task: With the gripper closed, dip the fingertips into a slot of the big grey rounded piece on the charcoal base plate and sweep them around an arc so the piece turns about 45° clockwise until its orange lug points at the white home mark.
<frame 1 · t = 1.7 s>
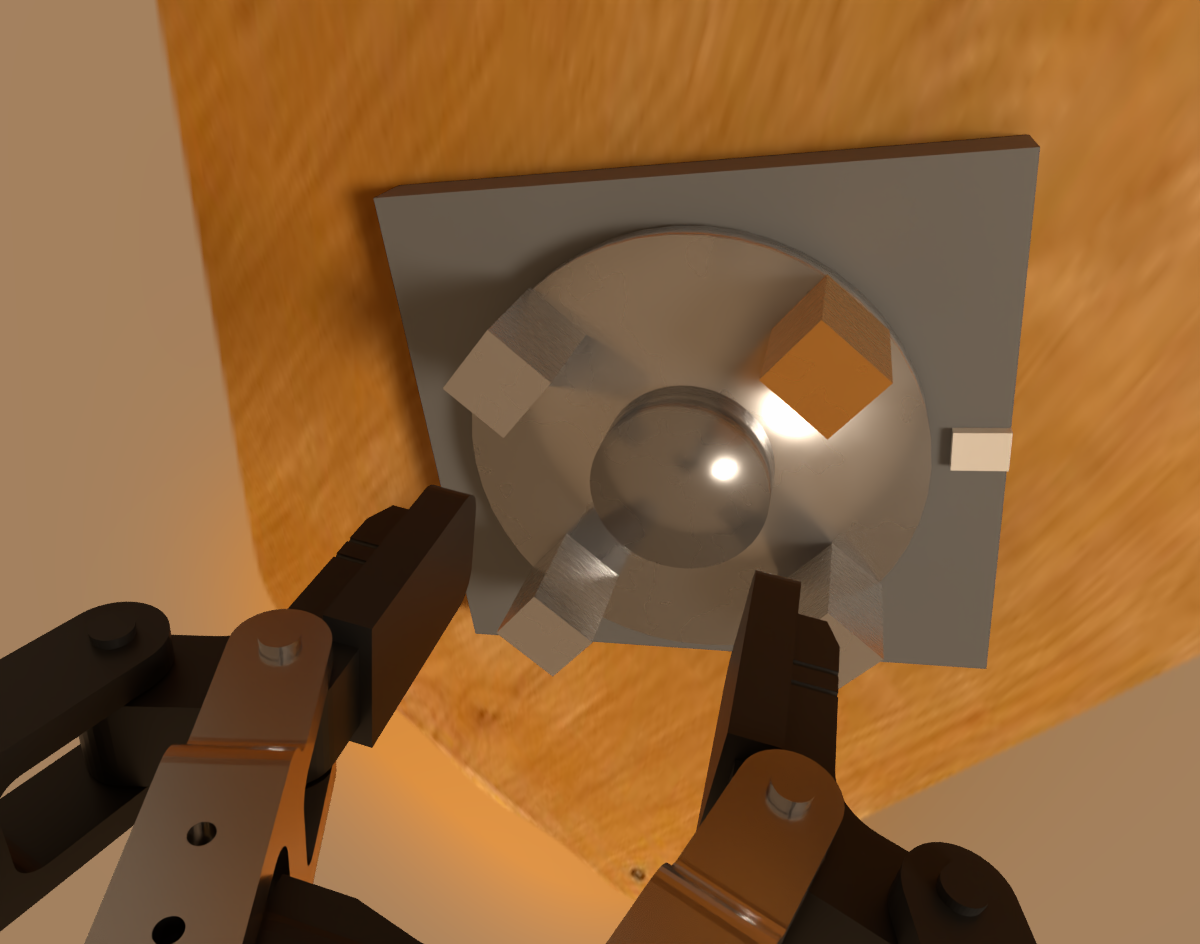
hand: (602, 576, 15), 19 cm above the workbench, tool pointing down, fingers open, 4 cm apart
base plate: (702, 420, 34), on the workbench
grey rounded piece: (680, 484, 30), point 5 cm above the workbench, hinge at 0.0°
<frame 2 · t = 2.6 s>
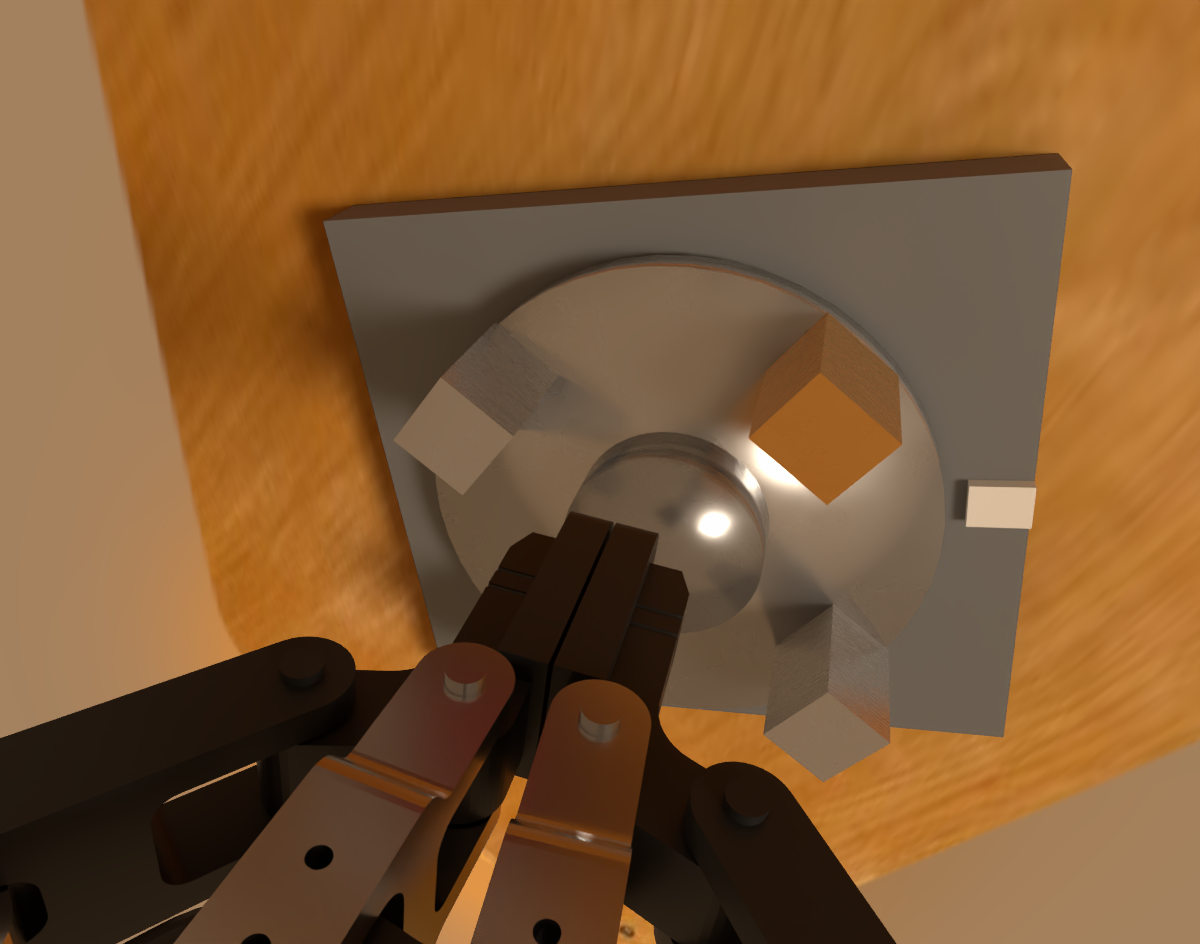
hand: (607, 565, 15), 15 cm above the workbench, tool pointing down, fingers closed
base plate: (691, 463, 31), on the workbench
grey rounded piece: (663, 542, 27), point 5 cm above the workbench, hinge at 0.0°
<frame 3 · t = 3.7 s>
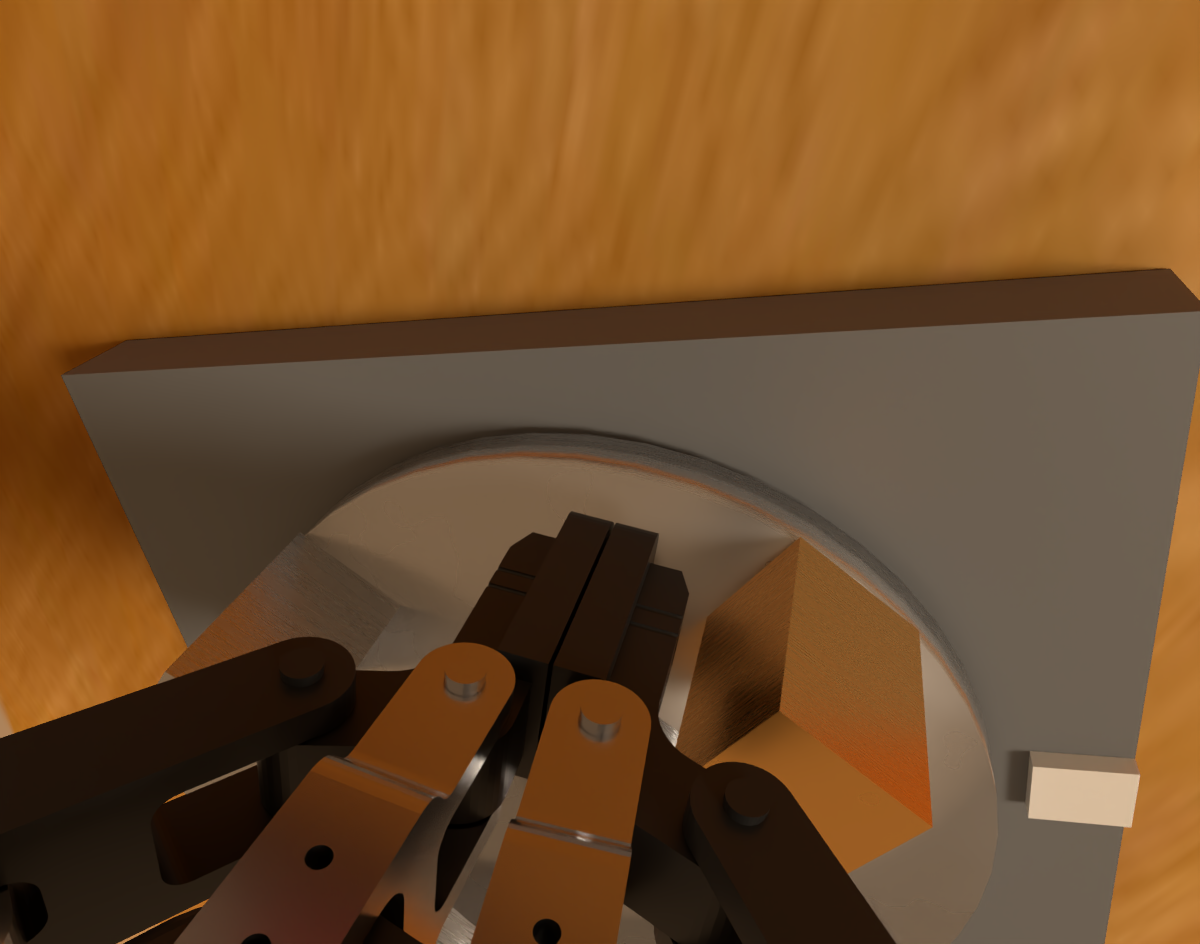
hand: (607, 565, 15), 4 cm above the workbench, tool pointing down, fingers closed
base plate: (625, 682, 22), on the workbench
grey rounded piece: (569, 851, 18), point 5 cm above the workbench, hinge at 0.0°, touching gripper
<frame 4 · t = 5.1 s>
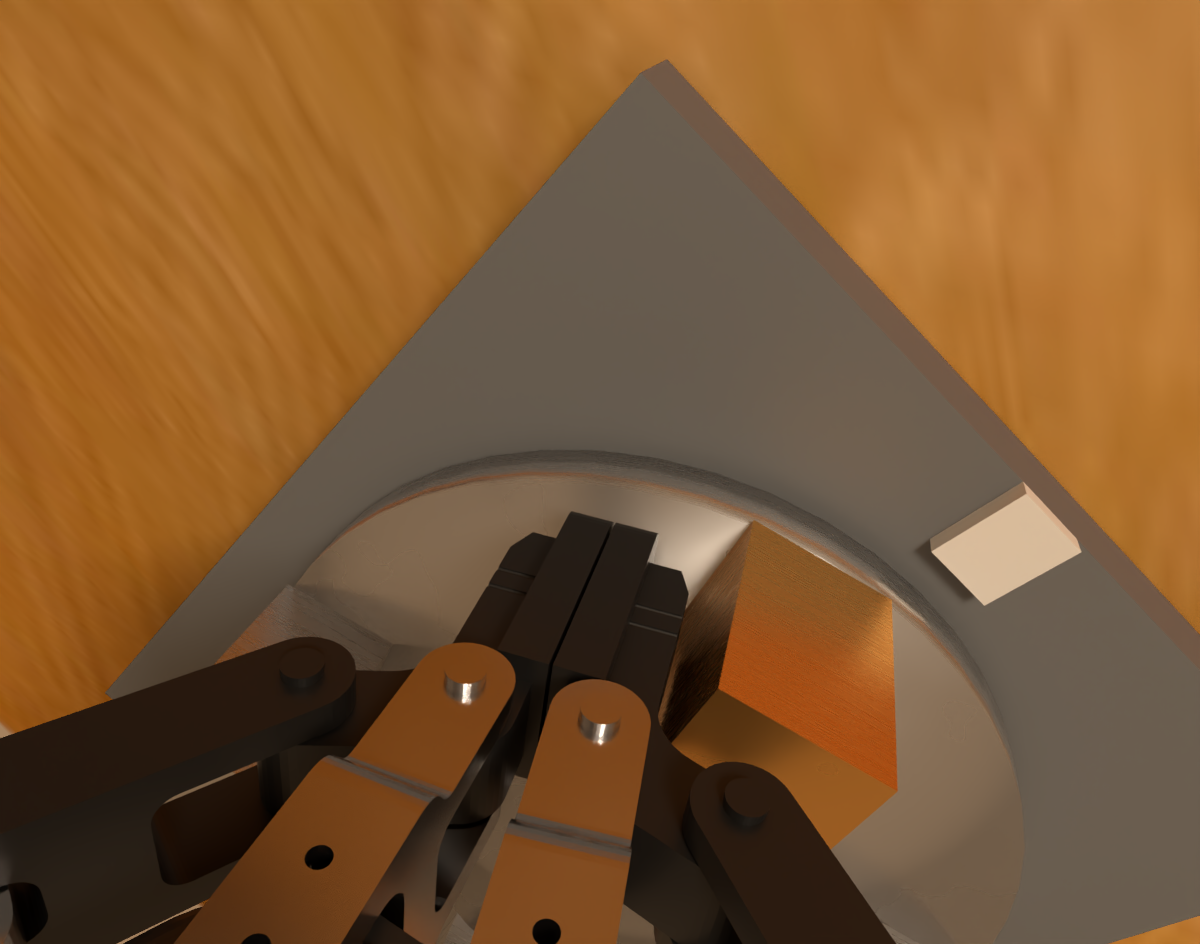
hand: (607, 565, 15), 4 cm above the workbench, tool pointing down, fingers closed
base plate: (642, 699, 22), on the workbench
grey rounded piece: (589, 871, 18), point 5 cm above the workbench, hinge at -29.2°, touching gripper
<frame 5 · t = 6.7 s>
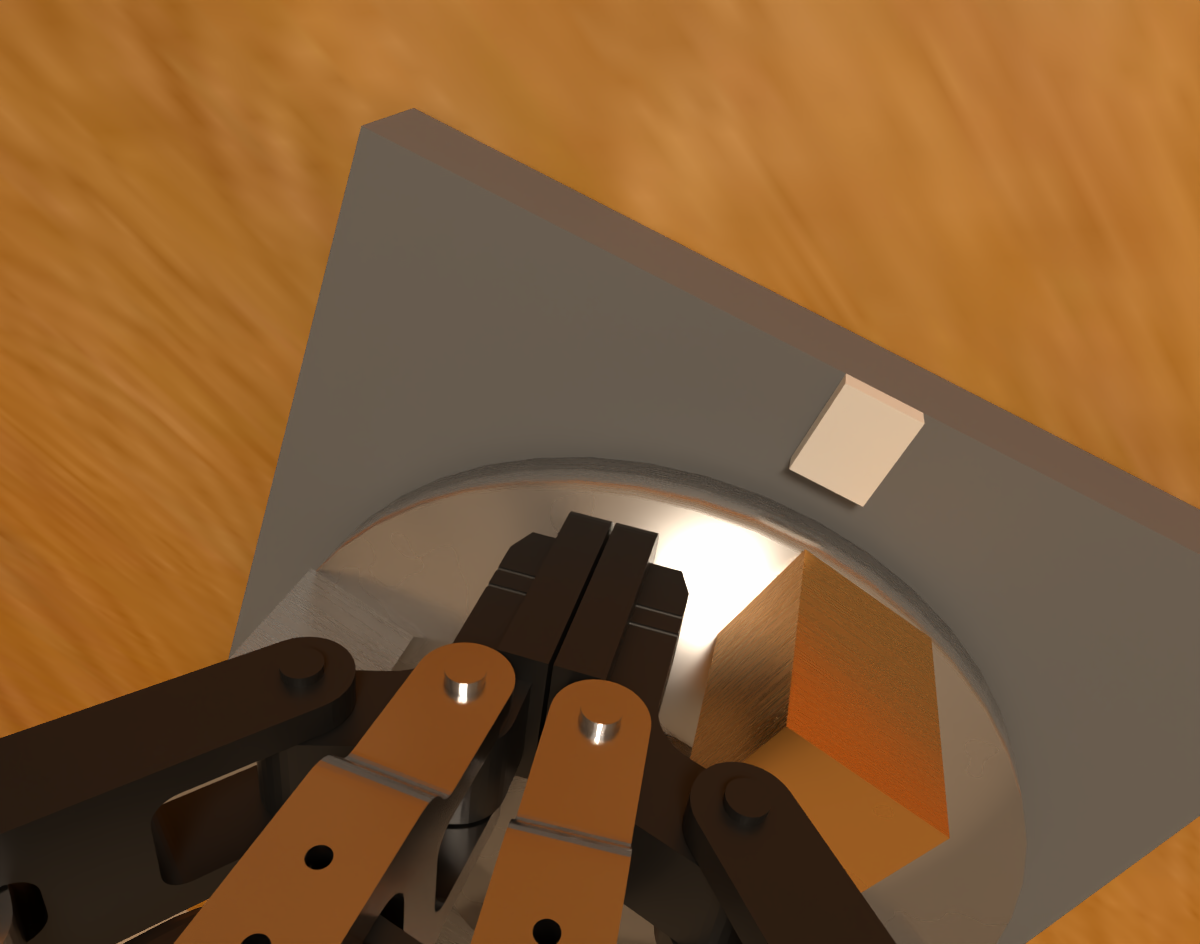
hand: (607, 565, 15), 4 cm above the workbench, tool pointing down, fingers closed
base plate: (644, 703, 22), on the workbench
grey rounded piece: (593, 876, 18), point 5 cm above the workbench, hinge at -54.3°, touching gripper
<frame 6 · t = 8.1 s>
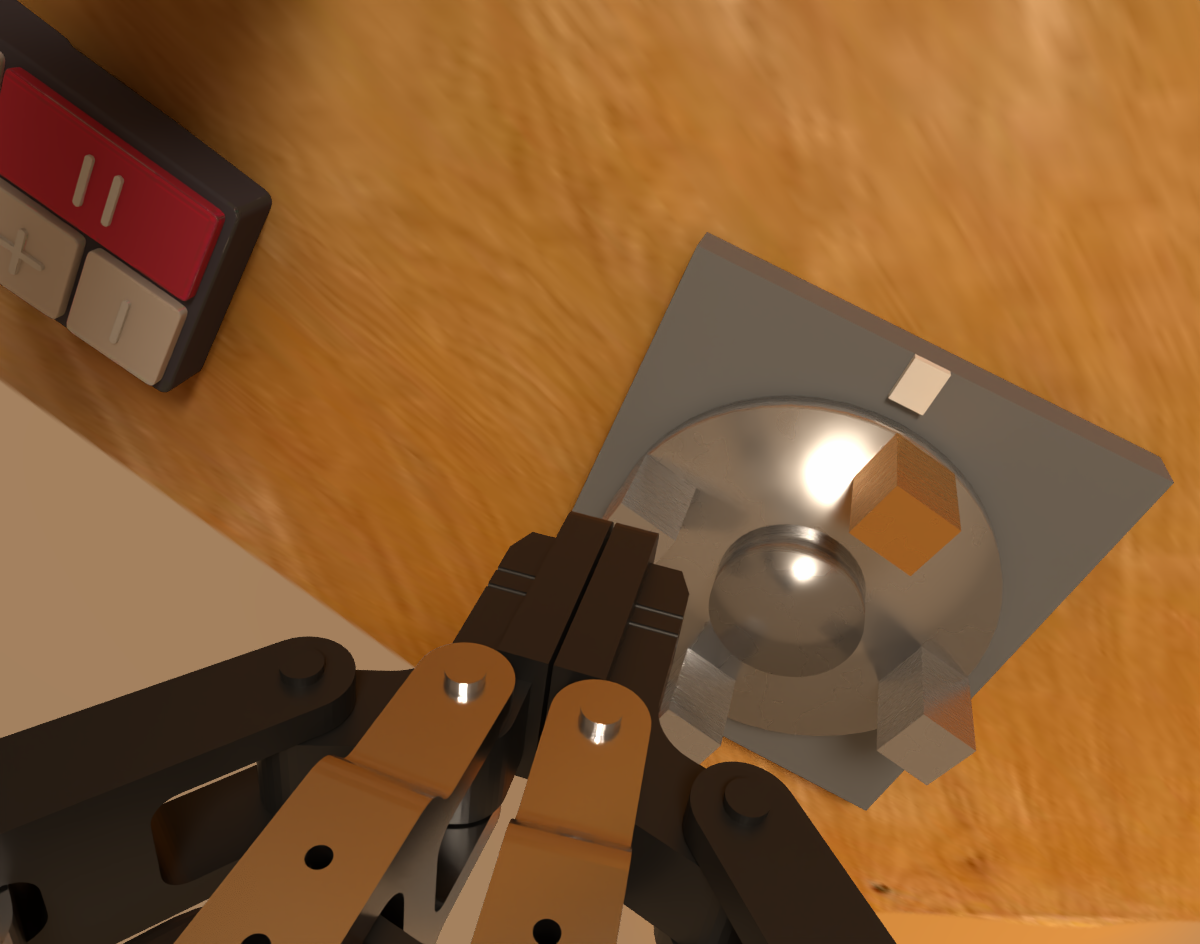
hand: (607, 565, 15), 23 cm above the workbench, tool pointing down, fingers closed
base plate: (797, 541, 40), on the workbench
calculator: (110, 190, 42), on the workbench
grey rounded piece: (786, 607, 36), point 5 cm above the workbench, hinge at -54.3°
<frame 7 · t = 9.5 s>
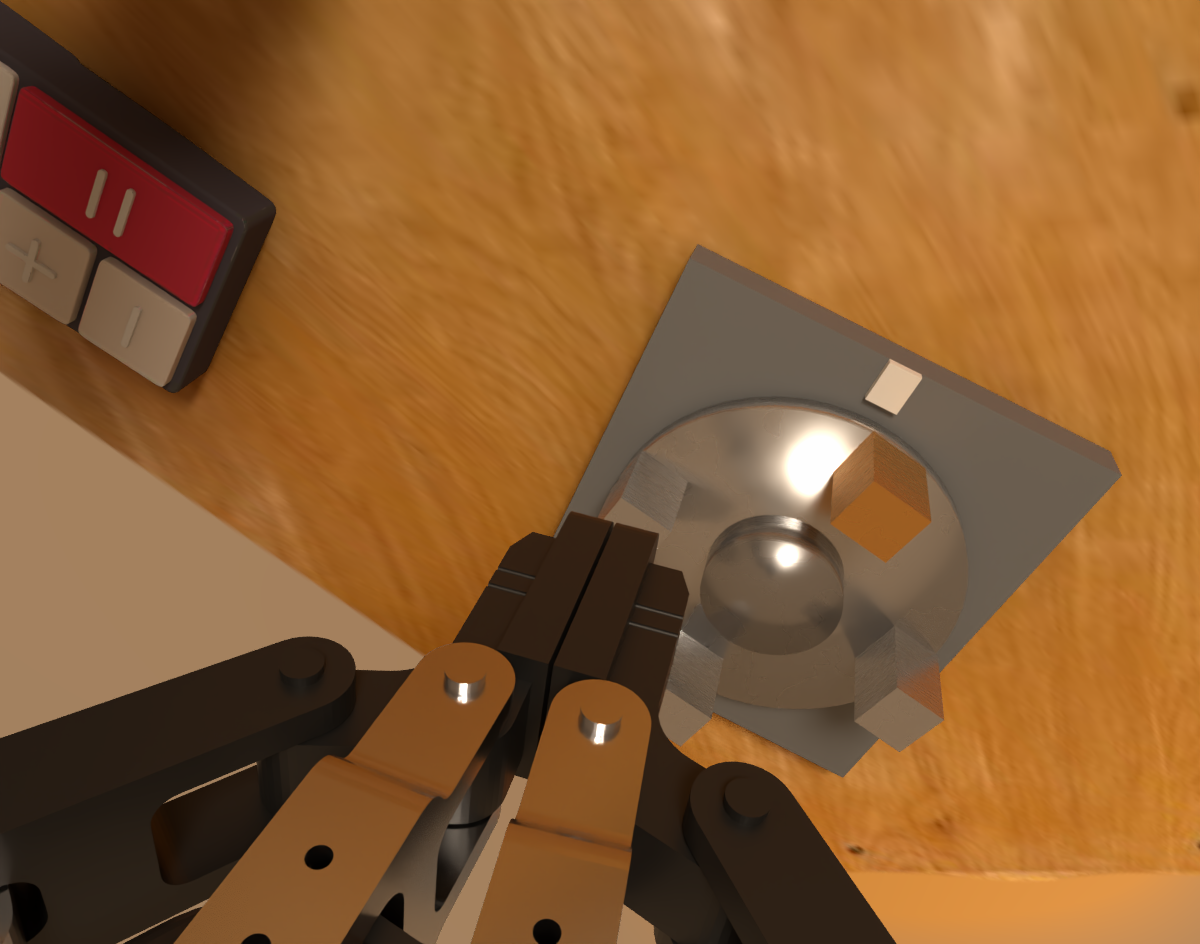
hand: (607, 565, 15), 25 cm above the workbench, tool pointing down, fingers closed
base plate: (780, 530, 43), on the workbench
calculator: (117, 199, 44), on the workbench
grey rounded piece: (771, 591, 39), point 5 cm above the workbench, hinge at -54.3°
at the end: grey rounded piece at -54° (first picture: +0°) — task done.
